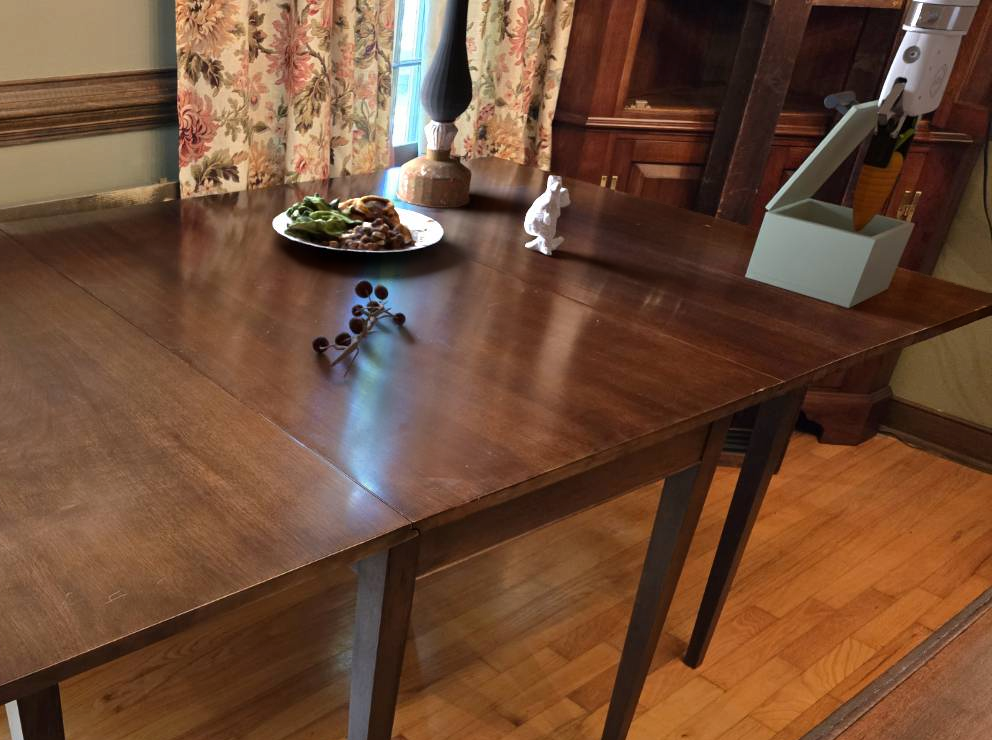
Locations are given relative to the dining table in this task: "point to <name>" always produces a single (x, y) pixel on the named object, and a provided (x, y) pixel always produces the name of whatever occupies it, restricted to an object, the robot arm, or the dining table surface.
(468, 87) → the oil lamp
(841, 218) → the grey-green storage box
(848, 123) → the box lid
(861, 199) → the carrot
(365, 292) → the decorative branch
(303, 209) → the plate of food
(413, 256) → the dining table surface
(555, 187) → the white kangaroo figurine
